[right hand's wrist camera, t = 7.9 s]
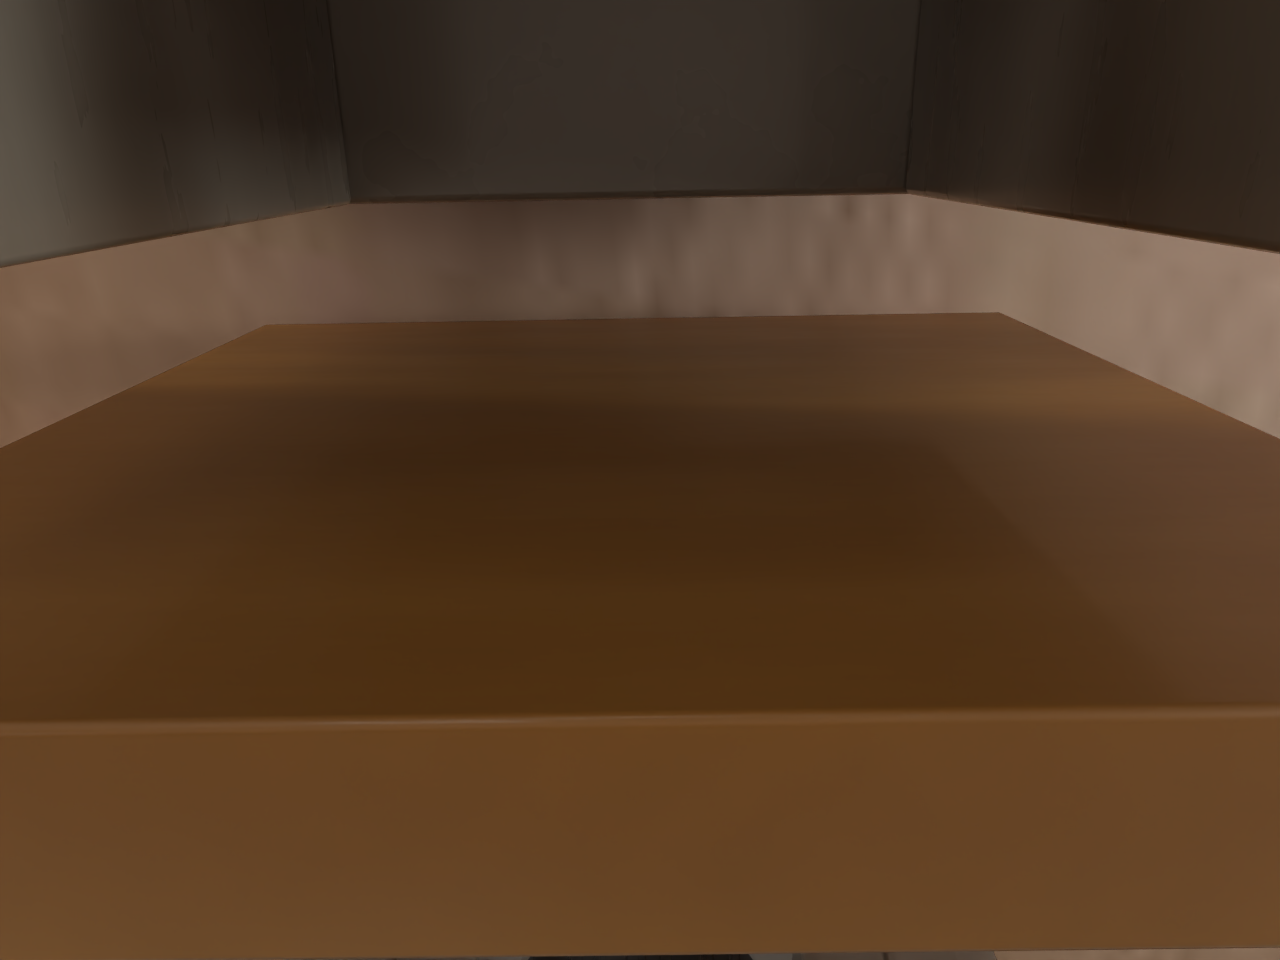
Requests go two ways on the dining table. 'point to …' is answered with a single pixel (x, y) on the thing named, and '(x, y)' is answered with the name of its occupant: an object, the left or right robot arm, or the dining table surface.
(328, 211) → the dining table surface
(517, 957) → the right robot arm
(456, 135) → the drawer
